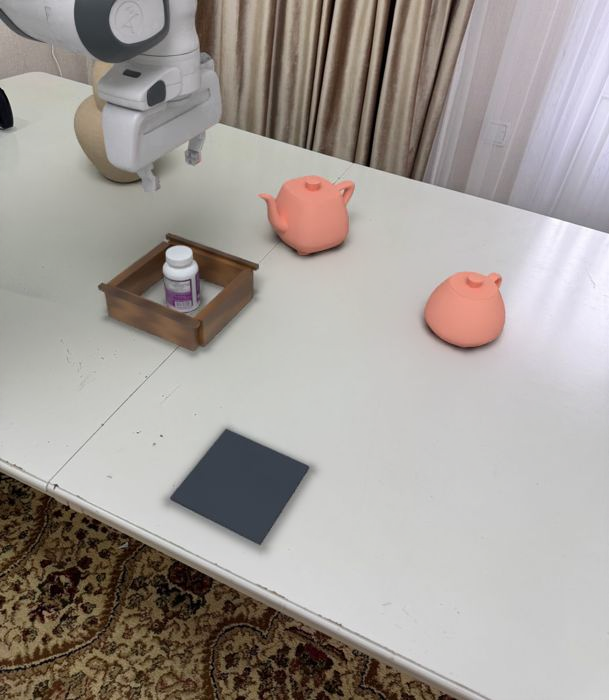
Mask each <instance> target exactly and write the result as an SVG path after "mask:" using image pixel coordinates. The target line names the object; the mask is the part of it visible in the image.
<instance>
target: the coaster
mask: <svg viewBox="0 0 609 700" xmlns="http://www.w3.org/2000/svg"><path fill="white" fill-rule="evenodd" d="M309 469H310V465H308V464H305V463H303V462H301V461H299V460H297V459H295V458H292V457H290V456H288V455H286V454H284V453H281V452H279V451H277V450H275V449H272V448H270V447H268V446H266V445H263V444H261V443H259V442H257V441H255V440H252V439H250V438H249V437H246V436H244V435H242V434H239V433H237V432H235V431H232V430H231V429H228V428H225V429H224V430H223V432H222V433H221V434H220V436H218V438H217V439H216V440H215V442H214V443H213V444H212V445H211V446H210V448H209V449H208V450H207V451H206V453H205V454H204V455H203V456H202V457H201V458H200V460H199V461H198V463H197V464H196V465H195V466H194V467H193V468H192V470H191V471H190V472H189V473H188V475H187V476H186V477H185V479H184V480H183V481H182V482H181V483H180V485H178V487H177V488H176V489H175V490H174V492H173V493H172V494H171V495H170V497H169V499H170V501H172V502H175V503H176V504H178V505H181V506H182V507H184V508H186V509H189V511H192V512H194V513H196V514H197V515H200V516H202V517H204V518H206V519H208V520H210V521H211V522H214V523H215V524H218V525H219V526H222V527H224V528H226V529H227V530H230V531H231V532H234V533H236V534H237V535H239V536H241V537H243V538H245V539H247V540H249V541H251V542H252V543H255V544H257V545H259V546H261V545H262V543H263V542H264V540H265V538H266V537H267V535H268V534H269V532H270V530H271V529H272V527H274V524H275V523H276V521H277V519H278V518H279V516H280V515H281V513H282V511H283V510H284V508H285V507H286V505H287V504H288V503H289V501H290V499H291V498H292V496H293V494H294V493H295V491H296V490H297V488H298V487H299V485H300V484H301V482H302V480H303V478H304V477H305V475H306V474H307V473H308V471H309Z"/></svg>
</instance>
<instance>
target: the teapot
mask: <svg viewBox="0 0 609 700" xmlns="http://www.w3.org/2000/svg"><path fill="white" fill-rule="evenodd" d="M355 189H356V184H355V182H354V181H352V180H343V181H341V182H338V183H336V184H334V183H333V182H331V181H329V180H328V179H326V178H324V177H322V176H319V175H316V174H315V175H314V174H312V175H305V176H300V177H299V176H298V177H296V178H292V179H289V180H287V181H285V182H283V183H282V185H281V187H280V189H279V192H278V193H277V194H276V197H274V196H273V195H271V194H268V193H258V194H257V196H258V197H259V198H261V199H262V200H264V201H265V203H266V209H267V211H266V212H267V219H268V222H269V224H270V226H271V227H272V228H273V229H274V230H275V232H276V234H277V235H278V236H279V238H280V239H281V240H282V241H283V242H284V244H286V245H288V246H289V247H290V248H293V249H294V250H296V252H297V254H298V255H300V256H308V255H310V254H312V253H317V252H321V251H325V250H329V249H332V248H335V247H337V246H339V245H340V244H342V243H343V242H344V240H345V239H346V238H347V237H348V234H349V232H350V231H349V229H350V221H349V213H348V209H347V205H348V203H349V202H350V200H351V198H352V197H353V194H354V192H355ZM341 191H343V192H341Z"/></svg>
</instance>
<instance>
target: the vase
mask: <svg viewBox="0 0 609 700" xmlns="http://www.w3.org/2000/svg"><path fill="white" fill-rule="evenodd" d="M94 61H95V62H94V64H93V68H92V73H91V85H92V93H93V94H90V95H89V96H87V97H86V98H85V99H83V100H82V102H80V104H79V105H78V107H77V108H76V111H75V112H74V117H73V130H74V133H75V138H76V140H77V142H78V144H79V146H80V148H81V150H82V151H83V153H84V155H85V156H86V157H87V159H88V160H89V161H90V163H91V164H92V165H93V166H94V167H95V168H96V170H97V171H98V172H99V173H100V174H101V175H103V176H104V177H105V178H107V179H109V180H110V181H112V182H113V181H114V182H118V183H131V182H135V181H138V180H141V178H140V177H139V175H138V174H137V173H136V172H135V173H132V172H128V171H125V170H122V169H119V168H116V167H114V166H113V165H112V164H111V163H110V162H109V160H108V158H107V154H106V149H105V143H104V136H103V128H102V111H103V108H104V105H105V104H106V102H107V101H105V100H102V99H100V98H99V95H98V91H97V84H98V82H99V80H100V79H101V78H102V77H103V76H104V75H105V74H106V73H107V72H108V71H109V70H110V69H111V68H112V67H113V66H114V64H115V63H104V62H99V61H96V60H94ZM154 163H155V161H154V162H153V164H154Z"/></svg>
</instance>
